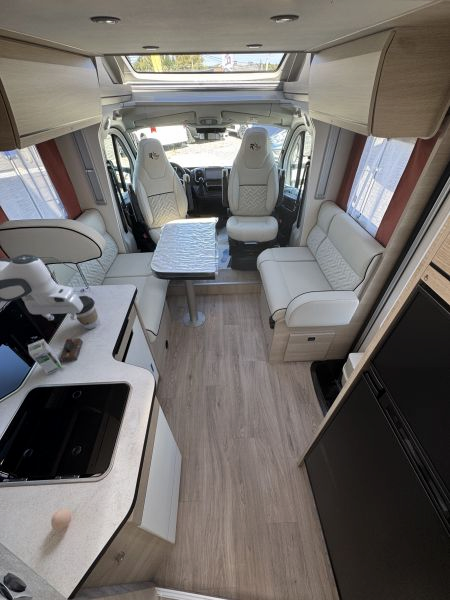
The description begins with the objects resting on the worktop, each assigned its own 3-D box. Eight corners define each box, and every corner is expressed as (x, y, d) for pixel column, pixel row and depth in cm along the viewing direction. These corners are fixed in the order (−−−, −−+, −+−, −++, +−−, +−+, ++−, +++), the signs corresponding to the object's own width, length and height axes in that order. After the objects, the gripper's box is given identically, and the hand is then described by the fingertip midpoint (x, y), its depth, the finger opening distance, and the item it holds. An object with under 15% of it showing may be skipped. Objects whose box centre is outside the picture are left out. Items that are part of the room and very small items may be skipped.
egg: (66, 533, 69) (56, 531, 65) (53, 527, 70) (42, 524, 66) (77, 513, 72) (69, 509, 68) (64, 508, 73) (55, 504, 69)
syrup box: (47, 375, 106) (28, 354, 96) (45, 365, 110) (27, 344, 100) (62, 368, 108) (45, 347, 99) (59, 359, 112) (43, 337, 102)
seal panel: (81, 359, 112) (78, 354, 109) (59, 362, 111) (55, 358, 109) (86, 341, 119) (83, 337, 117) (66, 344, 118) (62, 340, 116)
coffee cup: (75, 332, 124) (61, 310, 114) (86, 315, 132) (74, 293, 122) (97, 332, 123) (85, 310, 113) (107, 316, 131) (96, 294, 121)
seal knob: (70, 351, 111) (66, 346, 108) (66, 352, 111) (62, 347, 108) (73, 342, 115) (70, 337, 112) (70, 343, 115) (66, 338, 112)
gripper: (14, 300, 94) (34, 325, 103) (69, 298, 94) (84, 323, 103) (24, 289, 98) (42, 314, 108) (76, 287, 98) (90, 312, 108)
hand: (63, 319), depth 105 cm, fingers open, 8 cm apart
